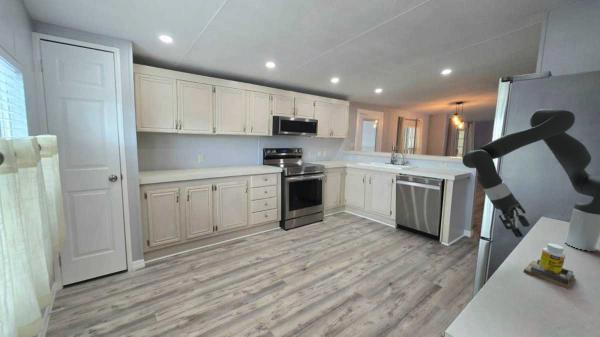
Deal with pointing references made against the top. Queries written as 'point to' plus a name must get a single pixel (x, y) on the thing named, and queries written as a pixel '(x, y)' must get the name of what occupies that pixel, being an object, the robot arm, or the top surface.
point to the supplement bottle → (552, 259)
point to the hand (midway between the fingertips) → (523, 231)
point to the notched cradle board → (551, 275)
